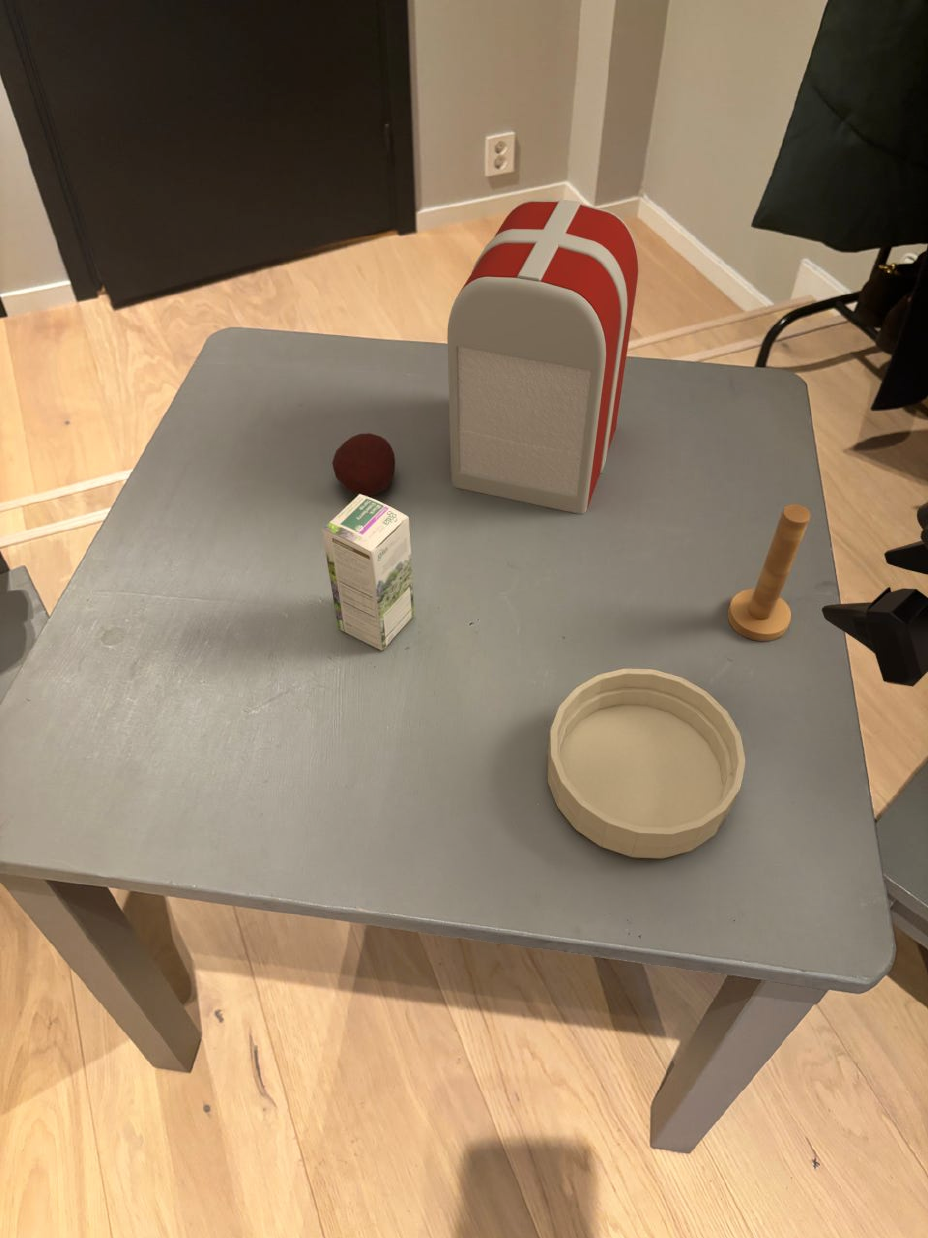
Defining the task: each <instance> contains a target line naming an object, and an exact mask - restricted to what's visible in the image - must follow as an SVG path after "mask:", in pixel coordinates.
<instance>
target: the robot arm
mask: <svg viewBox="0 0 928 1238" xmlns="http://www.w3.org/2000/svg"><path fill="white" fill-rule="evenodd" d="M916 520H917V523H918V524H919V526H920V527H921V531H920V540H919V541H915V542H911V543H908V544H906V545H905V544H904V545H902V546H898V547H895V548H891V549H888V550H886V551H885V552H884V553H883V556H884V559H885V562H886V564H888V565H890V566H893V567H895V568H898V569H902V570H907V571H911V572H914V573H918V574H923V575H927V576H928V501H926V502H925V503H923V504H922V505H921V506H920V507H918V509H917V511H916ZM821 612H822V615H823V618H824V619H825V620H826V621H827V622H828V623H830V624H832V625H833V626H835V627H836V628H838V629H839V630H840V631H842V632H844V633H845V634H847V635H848V636H850V637H852V638H853V639H854V640H856V641H857V642H858V643H860V644H861V645H863V646H865V647H866V648H867V649H868V650H869V651H870V652H872V653H873V654H874V656H875V659H876V663H877V666H878V669H879V672H880V674H881V678H882V681H883V682H884V683H887V684H891V685H898V686H906V687H915V686H916V684H918V682H920V680H922V679H923V678H924V676H925V675H927V673H928V596H927V595H926V594H924V593H923V592H922V591H920V590H919V589H917V588H904V587H902V588H900V589H896V590H893V591H892V589H891V586H888V587H887V588H886V589H884V590H883V591H882V592H881V593H880V594H879V595H878V596H877V597H876V598H875V599H873V600H872V601H871V602H867V601H866V602H851V603H850V602H849V603H836V604H828V605H824V606H823V607H822V608H821Z"/></svg>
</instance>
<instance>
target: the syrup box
mask: <svg viewBox="0 0 928 1238" xmlns="http://www.w3.org/2000/svg"><path fill="white" fill-rule="evenodd" d="M321 533H322V539H323V544H324V545H323V546H324V551H325V557H326V563H327V570H328V577H329V582H330V587H331V594H332V599H333V606H334V612H335V613H334V614H335V619H336V626H337V629H339V630H340V631H342V632H344V633H346V634H347V635H349V636H351V637H353V638H355V639H357V640H358V641H361V642H363V643H365V644H367V645H369V646H371V647H373V648H375V649H378V650H379V651H381V652H384V651H385V650H386V649H387V648H388V646H389V645H390V644H391V643H392V642H393V641H394V639H395V638H396V637H397V636H398V635H399V634H400V633H401V632H402V630H403V629H404V628H405V627H406V626H407V625H408V624H409V622H411V620H412V619H413V618H414V617H415V602H414V587H413V586H414V585H413V566H412V565H413V563H412V549H411V535H410V534H411V533H410V518H409V516H408V515H407V514H405V513H403V512H401V511H399V510H397V509H396V508H393V507H392V506H389V505H387V504H385V503H384V502H381V501H379V500H377V499H374V498H372V497H369V496H367V495H361V494H359V495H357V496H356V497H354V499H353V500H352V501H350V502H349V504H347V505H346V506H345V507H344V508H343V509H342V510H341V511H340V512H339V513H338V514H337V515H336V516H334V518H332V520H330V521H329V523H327V524H326V525H325V526H324V527H323V528H322V529H321Z"/></svg>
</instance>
